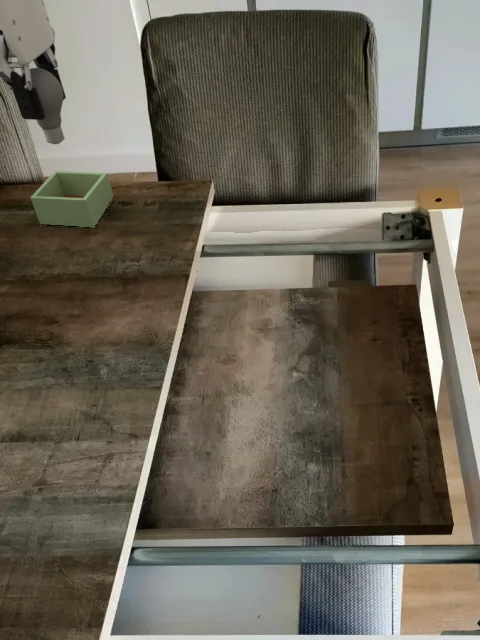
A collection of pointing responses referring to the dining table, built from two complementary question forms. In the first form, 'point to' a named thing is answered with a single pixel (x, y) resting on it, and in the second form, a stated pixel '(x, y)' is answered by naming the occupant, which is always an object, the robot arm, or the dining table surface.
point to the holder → (72, 198)
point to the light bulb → (49, 103)
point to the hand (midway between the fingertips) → (44, 107)
